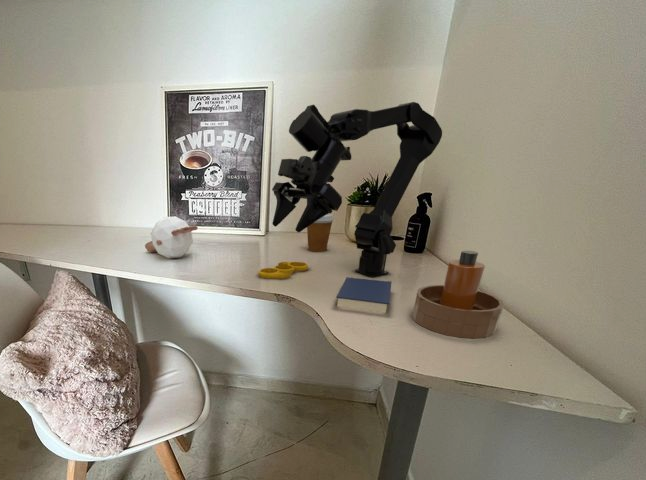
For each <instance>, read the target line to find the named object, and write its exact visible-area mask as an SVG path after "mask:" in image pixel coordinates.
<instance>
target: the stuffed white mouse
mask: <svg viewBox="0 0 646 480" xmlns="http://www.w3.org/2000/svg"><path fill="white" fill-rule="evenodd" d="M197 230H198V226H197V225H190V226H189V223H188V222H187V221H186V220H183V219H182V218H179V217H178V216H163V217H162V218H161V219H159V220H158V221H157V222H156V223H155V224H154V226H153V228H152V229H151V232H150V236H151V241H148V242H146V243H145V244H144V248H145V249H146V251H147V252H150V253H156V252H157V253H158V254H159V255H161V256H163V257H165V258H166V259H178V258H182V257H183V256H184V255H185V254H186V253H188V252H189V250H190V249H191V247H192V245H193V243H194V240H193V234H192V232H193V231H197Z"/></svg>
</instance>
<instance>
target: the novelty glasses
mask: <svg viewBox="0 0 646 480" xmlns="http://www.w3.org/2000/svg"><path fill="white" fill-rule="evenodd" d="M308 269H309V264H308V263H306V262H304V261H281V262H279V263H277V265H275V266H274V267H264V268H261V269H259V270H258V276H259V277H260V278H263V279H271V280H282V279H288V278H290V277H291V275H293V274H294V273H295V272H305V271H307V270H308Z"/></svg>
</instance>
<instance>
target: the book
mask: <svg viewBox="0 0 646 480" xmlns="http://www.w3.org/2000/svg"><path fill="white" fill-rule="evenodd" d="M391 289H392V281H386V280H376V279H367V278H357V277H349V276H347V277H345V280H344V281H343V283H342V285H341V287H340V289H339V291H338V293H337V295H336V299H337V303H336V304H337V305H336V308H343V309H350V310H358V311H365V312H374V313H380V314H386V313H387V309H388V305H390V299H391V298H390V297H391Z"/></svg>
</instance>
